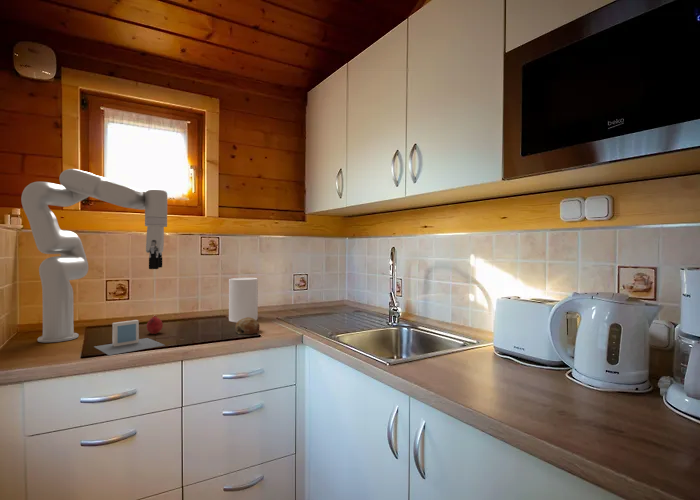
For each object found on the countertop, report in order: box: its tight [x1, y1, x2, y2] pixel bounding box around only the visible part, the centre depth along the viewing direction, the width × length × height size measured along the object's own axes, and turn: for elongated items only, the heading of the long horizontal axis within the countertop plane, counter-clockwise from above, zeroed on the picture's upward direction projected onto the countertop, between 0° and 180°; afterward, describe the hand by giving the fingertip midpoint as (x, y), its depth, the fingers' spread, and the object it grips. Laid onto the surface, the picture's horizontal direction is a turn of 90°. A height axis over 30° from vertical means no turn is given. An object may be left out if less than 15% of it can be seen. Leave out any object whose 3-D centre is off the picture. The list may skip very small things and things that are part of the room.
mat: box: [93, 337, 165, 356], centre depth 140 cm, size 16×18×1 cm
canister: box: [228, 277, 259, 323], centre depth 194 cm, size 14×14×20 cm
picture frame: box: [111, 319, 140, 346], centre depth 143 cm, size 2×8×8 cm, turn 138°
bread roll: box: [234, 317, 261, 335], centre depth 166 cm, size 10×10×8 cm
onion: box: [146, 314, 164, 335], centre depth 160 cm, size 6×6×8 cm
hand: (155, 268), depth 149 cm, fingers open, 9 cm apart
